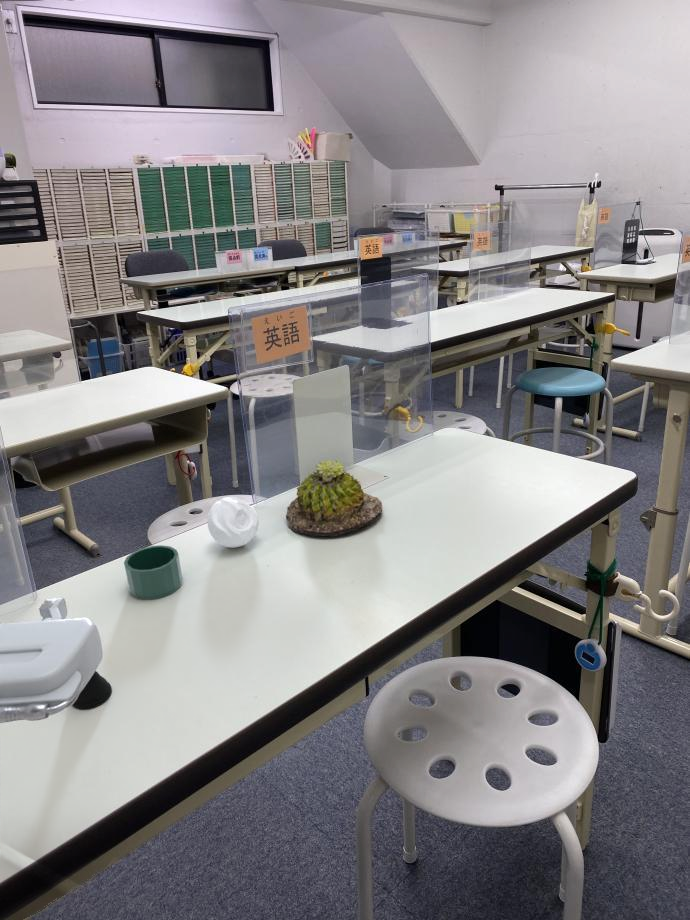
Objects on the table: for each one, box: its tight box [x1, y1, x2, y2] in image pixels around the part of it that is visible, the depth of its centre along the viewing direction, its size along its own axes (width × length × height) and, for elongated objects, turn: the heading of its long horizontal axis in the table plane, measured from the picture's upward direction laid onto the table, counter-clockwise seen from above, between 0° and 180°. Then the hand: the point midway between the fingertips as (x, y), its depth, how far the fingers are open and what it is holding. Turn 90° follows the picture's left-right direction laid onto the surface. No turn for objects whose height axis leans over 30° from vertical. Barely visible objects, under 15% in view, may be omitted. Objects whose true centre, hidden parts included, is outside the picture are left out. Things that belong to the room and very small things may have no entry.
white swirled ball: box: [206, 496, 259, 549], centre depth 107 cm, size 8×8×8 cm
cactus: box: [285, 459, 383, 537], centre depth 114 cm, size 17×16×10 cm
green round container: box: [123, 544, 183, 601], centre depth 98 cm, size 7×7×4 cm
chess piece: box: [72, 670, 113, 710], centre depth 75 cm, size 4×4×10 cm
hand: (2, 608), depth 59 cm, fingers open, 8 cm apart
